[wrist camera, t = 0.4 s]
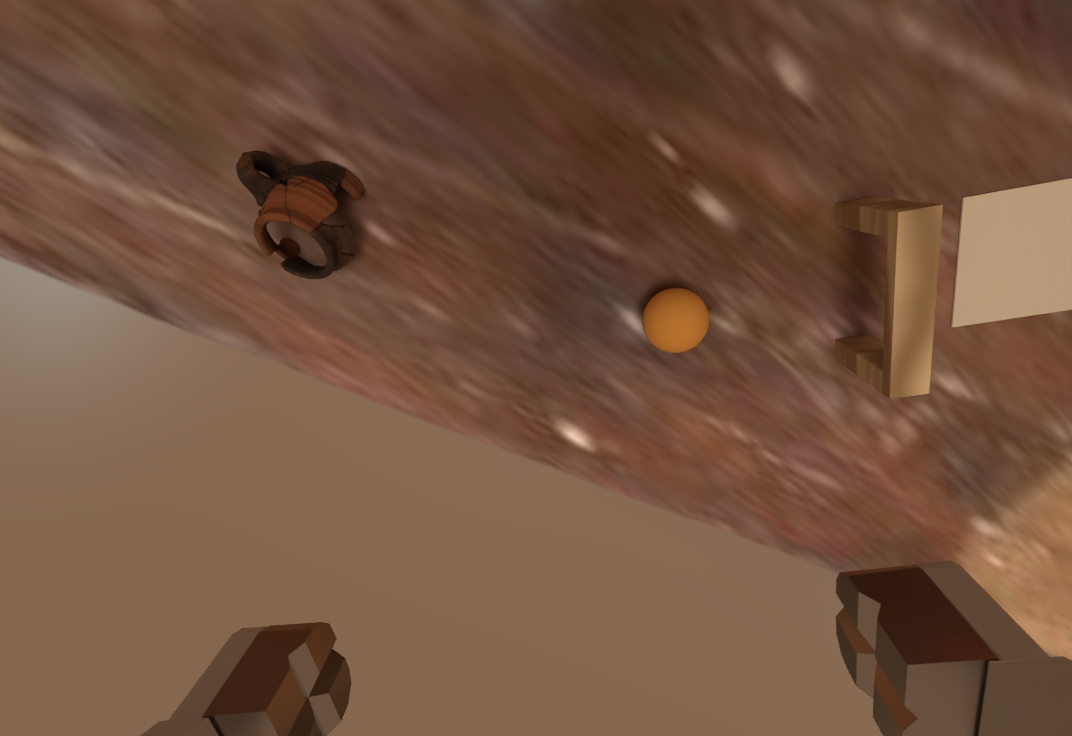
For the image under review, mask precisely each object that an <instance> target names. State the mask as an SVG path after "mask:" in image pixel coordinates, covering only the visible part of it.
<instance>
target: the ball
mask: <svg viewBox="0 0 1072 736" xmlns="http://www.w3.org/2000/svg"><path fill="white" fill-rule="evenodd" d="M642 325H643V330H644V333H645V335H646V337H647V338H648V340H649V341H650V342H651V343H652V344H653V345H654V346H655V347H657V348H659V349H660V350H663V351H666V352H671V353H678V352H684V351H687V350H689V349H691V348H693V347H695V346H696V345H697V344H698V343H699V342H700V341H701V340H702V339H703V337H704V336H705V334H706V332H707V329H708V325H709V315H708V310H707V308H706V305H705V304H704V302H703V301H702V299H701V298H700V297H699V296H697V295H696V294H695V293H693V292H691V291H689V290H686V289H682V288H670V289H666V290H663V291H661V292H659V293H658V294H656V295H655V296H654V297H652V298H651V300H650V301H649V302H648V304H647V305H646V307H645V309H644V312H643V317H642Z"/></svg>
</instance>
